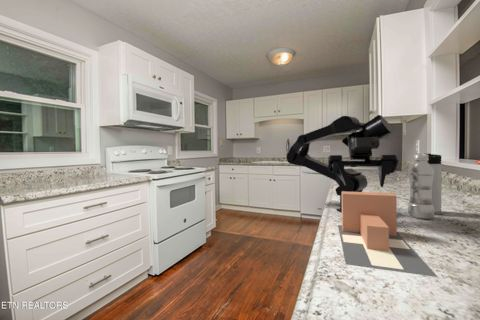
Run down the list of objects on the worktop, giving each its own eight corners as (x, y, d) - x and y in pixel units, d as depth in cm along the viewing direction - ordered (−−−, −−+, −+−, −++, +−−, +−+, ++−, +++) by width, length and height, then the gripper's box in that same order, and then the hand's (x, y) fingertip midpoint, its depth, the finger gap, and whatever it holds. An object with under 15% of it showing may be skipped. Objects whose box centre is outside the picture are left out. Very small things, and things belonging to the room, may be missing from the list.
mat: (337, 226, 64) (337, 225, 64) (395, 231, 59) (395, 229, 59) (345, 266, 42) (345, 264, 42) (438, 279, 37) (438, 276, 37)
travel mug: (438, 211, 77) (439, 153, 76) (443, 215, 71) (443, 153, 71) (416, 208, 80) (416, 153, 80) (418, 213, 75) (418, 154, 74)
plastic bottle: (412, 220, 67) (412, 154, 67) (404, 214, 74) (404, 154, 73) (438, 222, 65) (439, 154, 64) (428, 216, 72) (428, 154, 71)
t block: (341, 226, 63) (341, 191, 62) (391, 230, 58) (391, 193, 58) (346, 246, 50) (346, 201, 49) (411, 253, 45) (411, 205, 45)
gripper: (328, 130, 71) (329, 167, 61) (396, 127, 65) (410, 167, 55) (327, 154, 79) (328, 190, 69) (388, 153, 73) (399, 193, 63)
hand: (363, 185), depth 64 cm, fingers open, 9 cm apart
